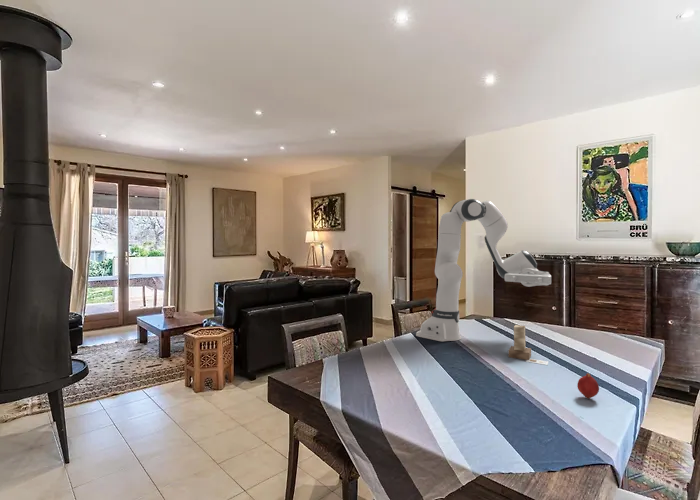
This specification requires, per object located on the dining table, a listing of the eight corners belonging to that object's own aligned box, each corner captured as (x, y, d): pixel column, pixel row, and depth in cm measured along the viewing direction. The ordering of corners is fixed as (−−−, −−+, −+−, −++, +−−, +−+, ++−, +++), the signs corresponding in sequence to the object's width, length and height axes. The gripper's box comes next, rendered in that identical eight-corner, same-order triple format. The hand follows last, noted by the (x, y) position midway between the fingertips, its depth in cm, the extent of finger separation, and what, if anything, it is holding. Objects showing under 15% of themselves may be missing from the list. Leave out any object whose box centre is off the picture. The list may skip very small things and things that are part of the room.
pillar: (514, 349, 160) (513, 326, 160) (515, 347, 163) (515, 324, 163) (524, 351, 158) (524, 327, 158) (525, 348, 161) (525, 325, 161)
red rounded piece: (578, 392, 122) (579, 368, 122) (599, 397, 119) (600, 372, 119) (575, 398, 118) (576, 373, 118) (597, 403, 114) (598, 378, 114)
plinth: (508, 357, 159) (508, 350, 159) (511, 352, 166) (511, 345, 166) (529, 360, 155) (529, 352, 155) (531, 355, 162) (531, 348, 162)
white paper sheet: (525, 361, 154) (525, 361, 154) (527, 358, 158) (527, 357, 158) (547, 365, 149) (547, 364, 149) (548, 362, 154) (548, 361, 154)
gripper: (506, 269, 189) (501, 271, 177) (552, 272, 178) (550, 274, 167) (506, 282, 189) (501, 284, 177) (552, 285, 179) (550, 288, 167)
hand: (525, 279), depth 172 cm, fingers open, 8 cm apart
